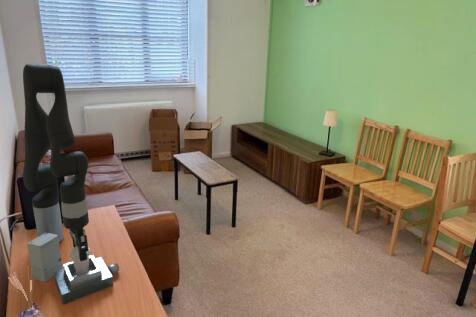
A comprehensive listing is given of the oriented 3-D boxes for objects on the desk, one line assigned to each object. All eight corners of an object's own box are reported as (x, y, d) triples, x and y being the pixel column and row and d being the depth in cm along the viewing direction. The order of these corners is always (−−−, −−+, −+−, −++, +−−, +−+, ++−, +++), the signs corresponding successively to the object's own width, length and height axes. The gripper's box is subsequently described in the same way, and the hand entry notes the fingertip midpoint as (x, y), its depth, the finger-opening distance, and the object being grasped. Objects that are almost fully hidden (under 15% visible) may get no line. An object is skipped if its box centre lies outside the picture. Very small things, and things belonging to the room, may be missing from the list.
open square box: (55, 281, 119) (52, 265, 117) (112, 262, 131) (111, 246, 129) (63, 304, 110) (60, 287, 107) (124, 281, 122) (123, 265, 119)
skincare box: (45, 283, 119) (39, 247, 113) (32, 279, 120) (25, 243, 115) (63, 268, 126) (59, 234, 121) (50, 265, 128) (45, 230, 123)
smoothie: (85, 281, 115) (81, 246, 110) (68, 278, 116) (63, 243, 111) (96, 269, 121) (92, 235, 116) (80, 266, 122) (76, 232, 117)
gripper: (57, 205, 113) (63, 246, 118) (67, 224, 102) (73, 268, 108) (81, 200, 117) (86, 240, 122) (93, 217, 106) (97, 260, 112)
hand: (80, 253), depth 115 cm, fingers open, 8 cm apart
